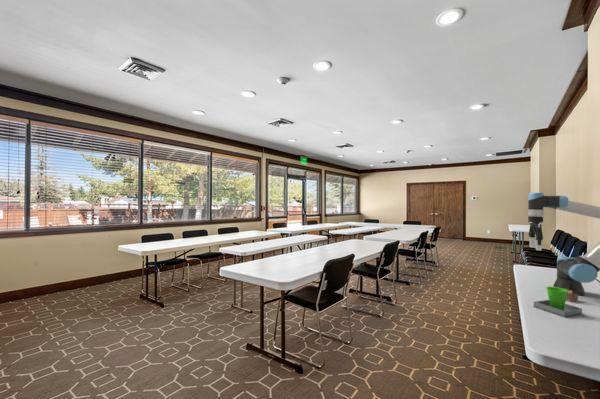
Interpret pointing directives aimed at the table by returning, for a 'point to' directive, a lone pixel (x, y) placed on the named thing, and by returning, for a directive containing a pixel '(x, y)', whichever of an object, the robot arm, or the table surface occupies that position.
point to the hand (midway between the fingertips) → (535, 248)
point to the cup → (557, 297)
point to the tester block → (572, 297)
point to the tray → (566, 312)
